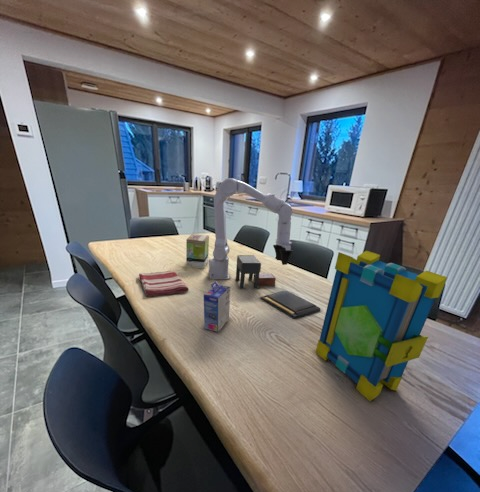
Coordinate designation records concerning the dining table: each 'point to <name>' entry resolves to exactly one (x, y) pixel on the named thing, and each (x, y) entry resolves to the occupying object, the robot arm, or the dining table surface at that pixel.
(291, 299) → the wallet
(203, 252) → the tea box
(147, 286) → the dish towel
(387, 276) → the decorative book
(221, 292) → the ink cartridge box
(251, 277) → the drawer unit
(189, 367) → the dining table surface
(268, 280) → the storage box
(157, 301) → the dining table surface
